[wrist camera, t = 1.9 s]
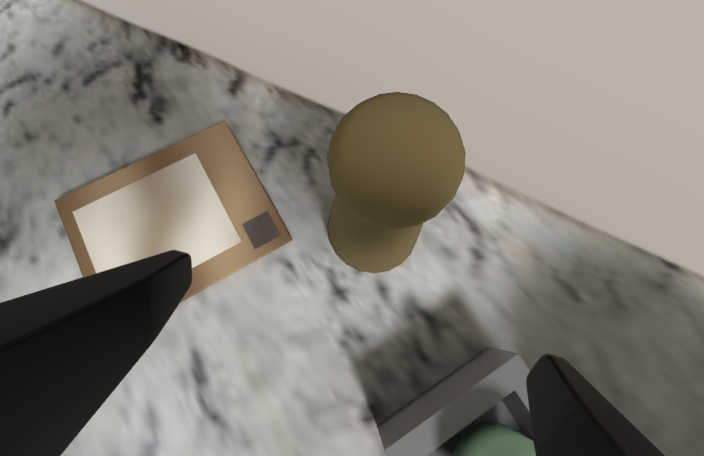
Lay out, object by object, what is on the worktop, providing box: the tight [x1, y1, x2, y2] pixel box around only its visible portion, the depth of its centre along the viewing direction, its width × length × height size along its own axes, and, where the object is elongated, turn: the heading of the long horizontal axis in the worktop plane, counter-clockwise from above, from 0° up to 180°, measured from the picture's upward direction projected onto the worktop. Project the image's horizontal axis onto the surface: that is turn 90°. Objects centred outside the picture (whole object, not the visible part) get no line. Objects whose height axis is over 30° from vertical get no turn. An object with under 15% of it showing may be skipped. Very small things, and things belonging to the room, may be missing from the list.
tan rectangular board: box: [55, 121, 292, 302], centre depth 21 cm, size 12×10×1 cm
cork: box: [327, 92, 465, 273], centre depth 16 cm, size 6×6×11 cm
